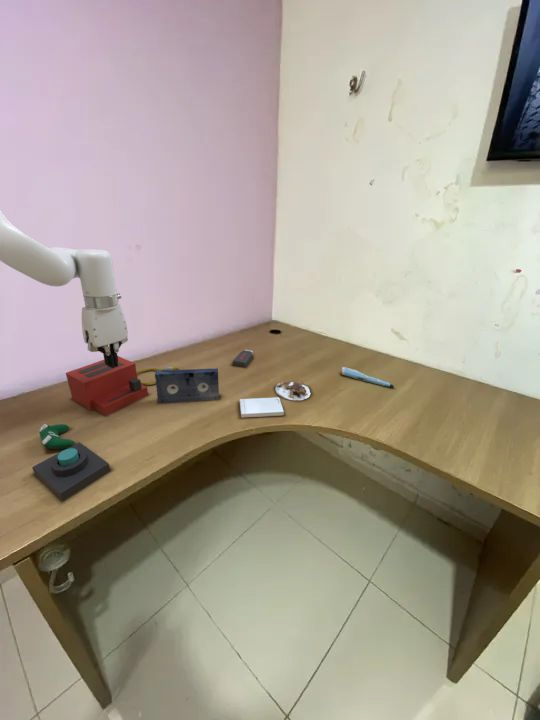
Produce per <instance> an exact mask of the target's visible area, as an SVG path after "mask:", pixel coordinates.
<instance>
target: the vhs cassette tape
mask: <svg viewBox="0 0 540 720" xmlns="http://www.w3.org/2000/svg"><path fill="white" fill-rule="evenodd" d="M160 370H161V371H154V379H155V381H156V382H155V383H156V384H155V387H156V396H157V401H158V404H167V403H168V404H169V403H182V402H183V403H184V402H199V401H202V402H203V401H216V400H219V399H220V390H219V368H189V369H188V368H187V369H177V370H162V369H160Z"/></svg>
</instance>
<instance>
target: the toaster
mask: <svg viewBox="0 0 540 720" xmlns="http://www.w3.org/2000/svg"><path fill="white" fill-rule="evenodd" d="M117 356H118V366H117V367H114V368H111V367H109V366H107V365H106V364H105V361H104V359H102V360H99V361H96V362H93V363H91V364H87V365H84V366H81V367H79V368H76V369H73V370H70V371H67V372H65V376H66V380H67V383H68V387H69V391H70V394H71V395H70V396H71V398H72V400H73V401H75V402H76V403H78V404H79V405H81V406H83V407H84V408H86V409H88V410H89V411H92V410H95V411H97V412H99V413H101V414H102V415H103V416H106V417H107V416H109V415H111V414H113V413H115V412H117V411H119V410H121V409H123V408H125V407H127V406H129V405H131V404H133V403H135V402H137V401H139V400H142V399H143V398H145V397H147V396H149V391H148V386H144V385H142V384H141V387H142V389H140V390H137V391H133V390H131V389H130V386H129V380H132V379H134V378H137V379H139V378H138V375H137V374H138V373H137V372H138V371H137V367H136V363H135V362H133V361H131V360H128V359H126V358H124V357H122V356H119V355H117Z"/></svg>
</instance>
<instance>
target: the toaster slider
mask: <svg viewBox="0 0 540 720" xmlns="http://www.w3.org/2000/svg"><path fill="white" fill-rule="evenodd" d="M137 378H138V377H137ZM137 378H134V379H132V380H129V386H130V389H131V390H133V391H137V390H140V389H142V387H141V383H142V382H141V379H139V378H138V379H137Z"/></svg>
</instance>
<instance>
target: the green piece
mask: <svg viewBox="0 0 540 720" xmlns="http://www.w3.org/2000/svg"><path fill="white" fill-rule="evenodd" d="M68 430H70V429H69V425H67V424H64V423H60V424H58V423H57V424H53V425H49V424H46V423H44V424H43V425H42V426H41V427H40V428H39V431H38V432H39V436H40V440H41V444H42V446H43V447H45V448H47V449H50V450H51V449H52V450H61V449H62V450H63V449H67V448H69V447H71V446H73V445H75V441H74V440H73V439H69V438H61V437H60V434H63V433H66V432H67V431H68Z"/></svg>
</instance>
